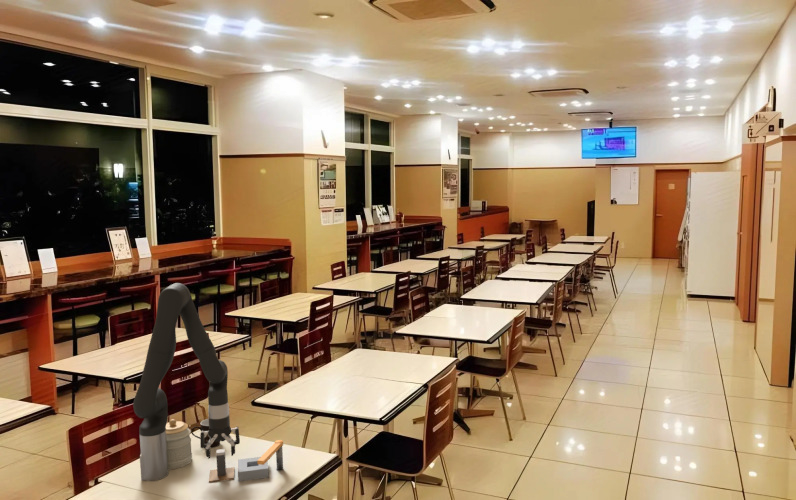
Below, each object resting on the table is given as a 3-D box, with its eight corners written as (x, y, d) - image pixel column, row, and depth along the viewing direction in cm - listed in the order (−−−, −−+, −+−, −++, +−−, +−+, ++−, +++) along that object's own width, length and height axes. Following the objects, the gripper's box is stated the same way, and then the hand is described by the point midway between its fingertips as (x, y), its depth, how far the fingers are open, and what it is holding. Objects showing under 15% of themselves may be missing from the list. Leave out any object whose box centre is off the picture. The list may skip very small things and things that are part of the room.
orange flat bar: (276, 443, 236) (276, 439, 236) (284, 443, 236) (284, 440, 235) (256, 464, 219) (256, 460, 218) (264, 464, 218) (264, 461, 218)
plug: (217, 476, 229) (216, 453, 228) (217, 472, 232) (216, 449, 231) (225, 475, 230) (224, 452, 229) (226, 471, 233) (224, 448, 232)
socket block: (238, 481, 226) (237, 472, 226) (238, 468, 237) (238, 459, 237) (268, 477, 229) (268, 468, 229) (267, 464, 240) (267, 456, 239)
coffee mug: (225, 440, 263) (224, 418, 262) (218, 449, 255) (216, 426, 254) (199, 440, 264) (198, 417, 263) (191, 448, 256) (189, 425, 255)
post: (276, 471, 234) (276, 447, 233) (276, 468, 236) (275, 444, 235) (283, 470, 234) (282, 446, 233) (282, 467, 237) (282, 444, 236)
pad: (208, 482, 226) (208, 480, 226) (210, 471, 234) (210, 470, 234) (234, 479, 228) (234, 477, 228) (234, 468, 237) (234, 467, 236)
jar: (193, 466, 239) (190, 422, 238) (157, 472, 235) (154, 427, 233) (191, 453, 252) (189, 411, 250) (157, 458, 247) (154, 416, 245)
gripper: (198, 420, 223) (200, 463, 225) (238, 416, 227) (240, 458, 228) (199, 412, 231) (201, 454, 232) (238, 409, 234) (240, 449, 236)
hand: (221, 456), depth 230 cm, fingers open, 8 cm apart
